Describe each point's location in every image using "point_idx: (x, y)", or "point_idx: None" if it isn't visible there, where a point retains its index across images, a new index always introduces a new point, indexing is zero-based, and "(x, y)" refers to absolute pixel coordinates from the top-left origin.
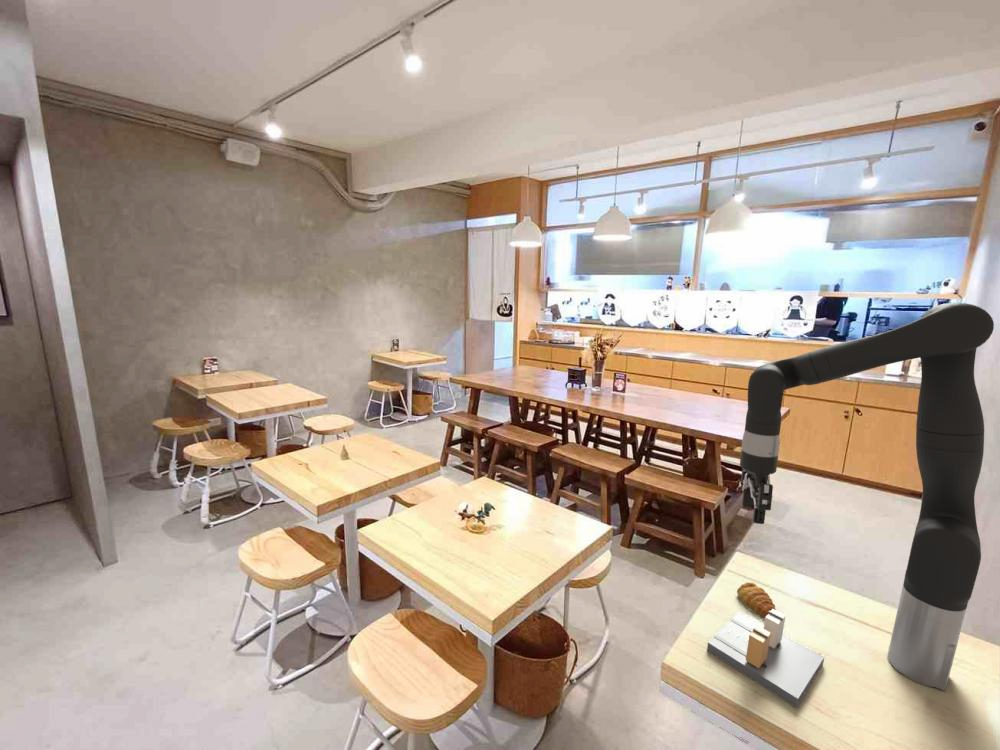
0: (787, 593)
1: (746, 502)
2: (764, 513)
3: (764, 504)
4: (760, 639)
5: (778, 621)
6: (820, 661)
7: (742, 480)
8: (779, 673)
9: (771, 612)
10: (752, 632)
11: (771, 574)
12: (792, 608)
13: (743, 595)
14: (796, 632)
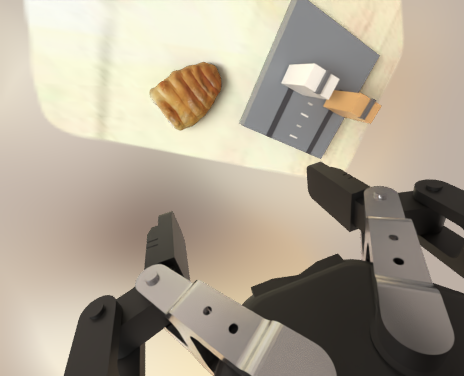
0: (105, 27)
1: (180, 241)
2: (365, 184)
3: (439, 218)
4: (376, 108)
5: (333, 78)
6: (311, 4)
7: (143, 369)
8: (347, 74)
9: (321, 89)
10: (366, 119)
11: (42, 56)
12: (158, 24)
13: (196, 120)
14: (230, 30)
